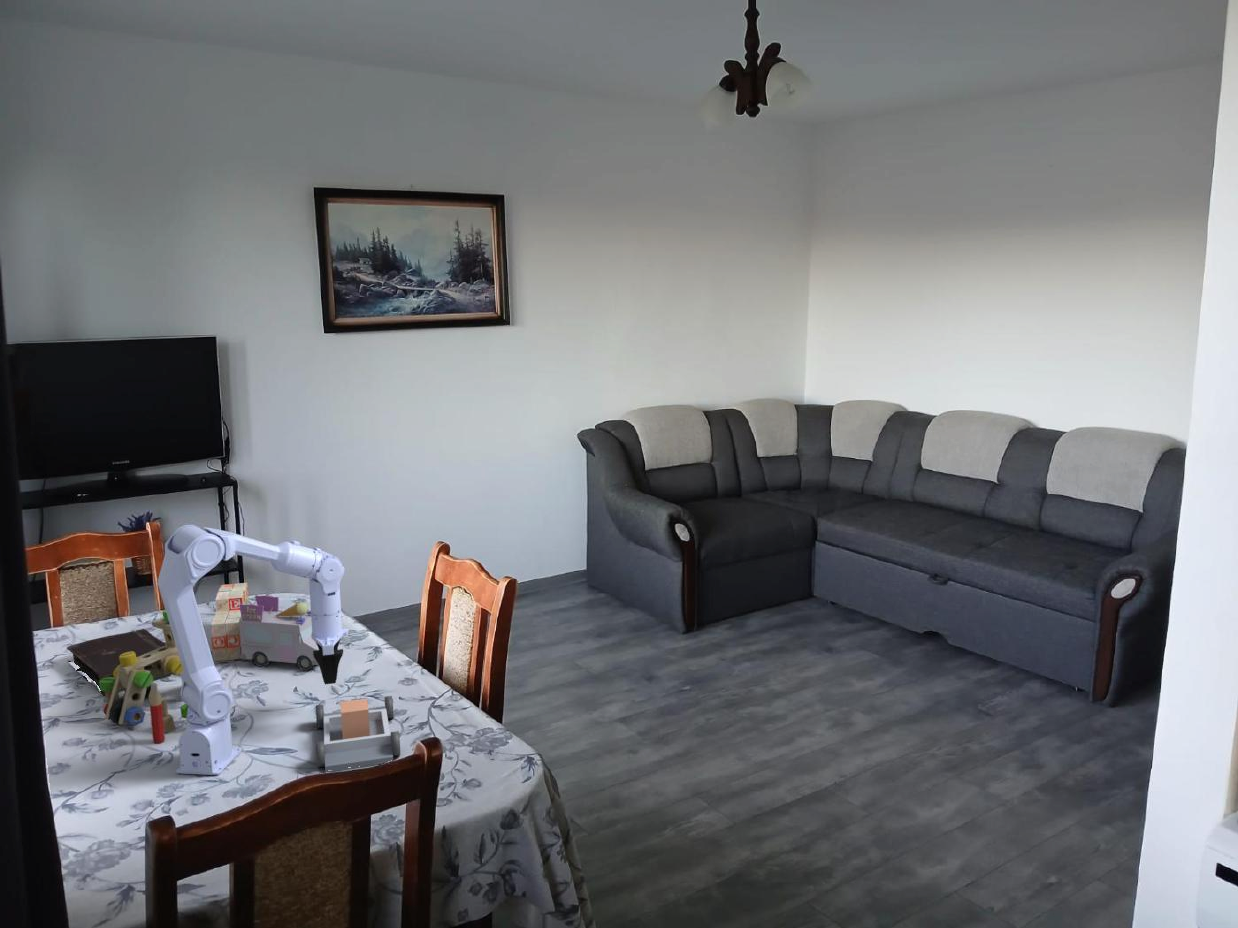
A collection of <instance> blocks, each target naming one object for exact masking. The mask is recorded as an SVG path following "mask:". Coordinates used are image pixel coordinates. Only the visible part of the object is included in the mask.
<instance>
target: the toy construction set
mask: <svg viewBox="0 0 1238 928" xmlns="http://www.w3.org/2000/svg"><path fill="white" fill-rule="evenodd" d="M161 613H162V617H159V618H157V619H154V620H152V621H151V625H152V628H156V629H160V630H162V633H163V635H164V640H165V644H166V645H165V646H162V647H160V648H157V649H155V650H153V651H151V652H148V653H146V654H144V655H141V656H139V657H137V658H136V654H135V652H133V651H130V652H126V653H123V654H121V655H120V656H119V660H120V663H121V664H120V665H118V666H117V668H116V669H115V670H114V672H113V676H114V677H106V678H102V679H101V680H100V681H99V685H100V690H101V691H104V692H105V697H104V698H105V703H106V704H105V705H104V707H103V711H102V712H103V714H104V715H105V716H104V719H105V720H109V721H111V723H113V724H115V725H118V726H125V725H126V726H129V725H131V726H137V725H141V724H143V722H144V720H145V716H146V712H145V711H144V710H143V705H144V702H145V700H147V699H149V700H148V701H149V711H150V720H151V721H150V722H151V723H150V724H151V732H152V742H153V743H154V744H161V743H163V742H165V740H166V737H165V734H168V733H171V732H173V731H174V730H175V729H176V725H175V723H176V722H175V720H174V717H173V716H172V714H169V712H168V711H169V709H168V701H167V700H168V699H167V697H166V696H162V694H161V692H159V689H158V684H157V683H156V682H155V681H153V676H152V675H151V674H150V671H148V670H144V666H146V665H148V664H150V665H151V666H152V667H154V668H155V670H156V672H158V673H160V674H163V675H165V674H168V673H171V674H173V675H174V674H176V675H178V676H179V677H181V674H182V672H183V667H182V664H181V661H180V657H179V654H178V650H177V647H176V644H175V640H174V637H173V633H172V630H171V627H170V623H169V620H168V617H167V613H166V610H165V609H164V610H163V611H162V612H161ZM115 679H116V680H115ZM122 689H124V691H123V692H124V694H123V695H122V696H120V695H119V694H120V693H121V692H120V691H121V690H122ZM187 712H188V705H186V704H185V703H184V704H182V705H181V706H180V713H181V714H180V715H181V717H182V718H183V719H186V720H185V721H186V722H187Z"/></svg>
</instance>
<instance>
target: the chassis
mask: <svg viewBox="0 0 1238 928" xmlns="http://www.w3.org/2000/svg"><path fill="white" fill-rule="evenodd" d="M393 700H394V699H393V695H388V696H387V695H386V696H384V706H374V707H368V710H369V729H370V736H365V737H358V738H351V739H343V735H342V718H341V711H337V712H336V711H335V712H328V713H325V710H324V704H316V705H315V719H316V722H315V723H316V728H317V729H319V728H320V729H321V728H323V738H324V739H323V741H317V742H315V752H316V753H315V755H316V767H317V768H320V767H322V768H323V767H325V769H324V770H325V772H327V773H333V772H339V771H347V770H355V769H359V768H366V767H367V768H368V767H373V766H372V765H375V766H380V765H379V764H381V765H384V764H383V763H386V762H388V761H391V760H393V761H394V757H398V756H401V740H400V733H399V730H397V731H396V730H395V731H391V730H390V724H389V719H394V716H395V715H394V701H393ZM359 766H360V767H359ZM348 767H351V768H348ZM328 770H332V771H328Z"/></svg>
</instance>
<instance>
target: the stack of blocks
mask: <svg viewBox="0 0 1238 928" xmlns="http://www.w3.org/2000/svg"><path fill="white" fill-rule="evenodd" d="M248 588H249V585H248V582H243V583H242V582H241V583H229V584H221V585H220V586H219V589H218V592H217V593H216V597H215V599H214V601H215V613H214V616H213V618H212V621H211V624H210V627H211V646H212V647H211V648H212V659H213V662H219V661H220V662H221V661H230V660H240V659H242V658H240V654H242V652H241V639H240V627H239V620H241V612H240V604H243V605H247V604H249V605H250V601H249V600H250V598H249V589H248Z"/></svg>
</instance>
